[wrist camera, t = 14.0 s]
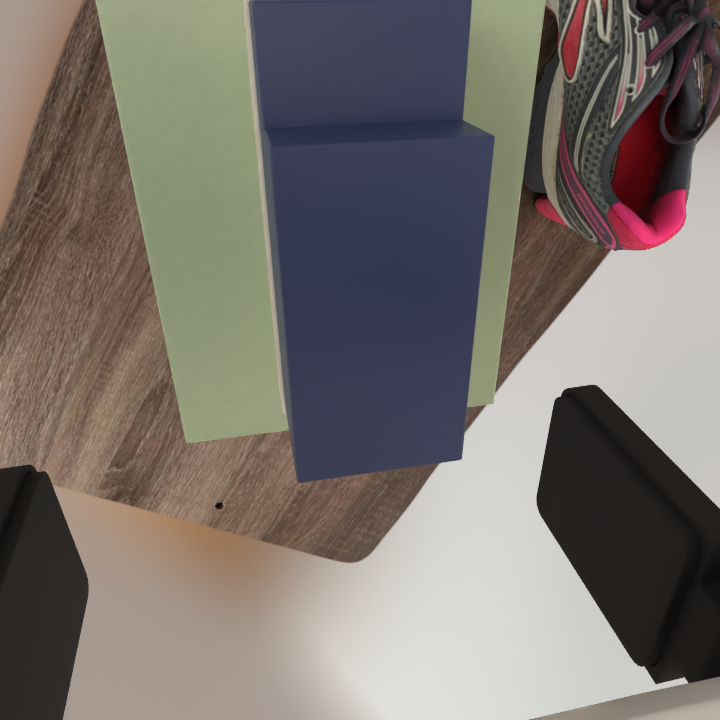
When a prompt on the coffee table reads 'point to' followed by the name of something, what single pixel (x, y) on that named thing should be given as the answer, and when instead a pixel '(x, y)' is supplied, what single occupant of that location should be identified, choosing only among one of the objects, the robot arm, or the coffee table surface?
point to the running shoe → (622, 117)
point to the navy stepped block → (369, 225)
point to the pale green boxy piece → (243, 201)
